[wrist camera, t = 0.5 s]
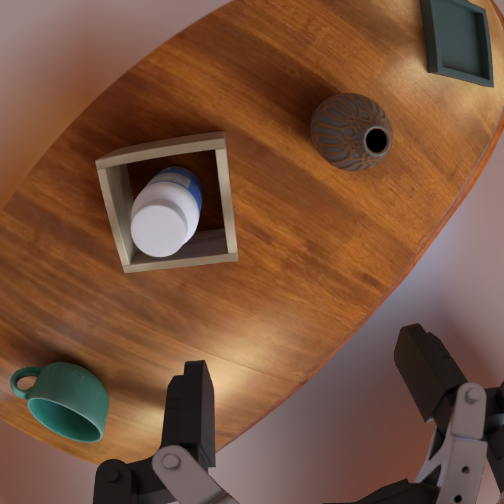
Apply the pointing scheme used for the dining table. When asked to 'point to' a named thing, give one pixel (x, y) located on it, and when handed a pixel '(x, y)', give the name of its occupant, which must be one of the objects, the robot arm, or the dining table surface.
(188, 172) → the pill bottle
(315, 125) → the vase
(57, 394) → the mug
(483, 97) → the dining table surface
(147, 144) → the crate
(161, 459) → the robot arm
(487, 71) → the tray
